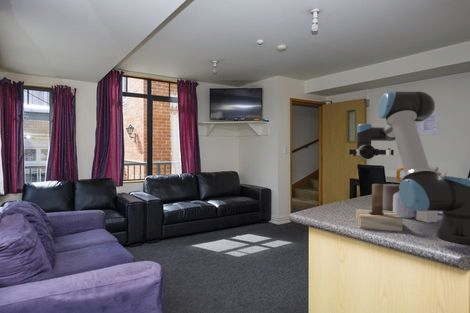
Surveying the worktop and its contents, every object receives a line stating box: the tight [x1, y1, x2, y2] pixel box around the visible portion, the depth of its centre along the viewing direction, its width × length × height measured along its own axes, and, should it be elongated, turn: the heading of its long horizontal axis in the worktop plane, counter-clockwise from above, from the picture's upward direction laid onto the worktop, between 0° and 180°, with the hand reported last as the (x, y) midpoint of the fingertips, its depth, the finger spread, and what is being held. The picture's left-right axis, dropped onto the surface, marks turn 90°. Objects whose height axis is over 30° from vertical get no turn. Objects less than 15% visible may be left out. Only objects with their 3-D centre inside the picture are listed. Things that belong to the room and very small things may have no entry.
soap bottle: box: [393, 167, 415, 219], centre depth 152 cm, size 9×9×25 cm
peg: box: [371, 183, 384, 216], centre depth 135 cm, size 4×4×18 cm
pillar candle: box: [383, 182, 400, 211], centre depth 170 cm, size 10×10×15 cm
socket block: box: [355, 209, 404, 232], centre depth 135 cm, size 16×16×5 cm
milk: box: [415, 211, 438, 223], centre depth 143 cm, size 6×6×22 cm
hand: (374, 152), depth 143 cm, fingers open, 13 cm apart
